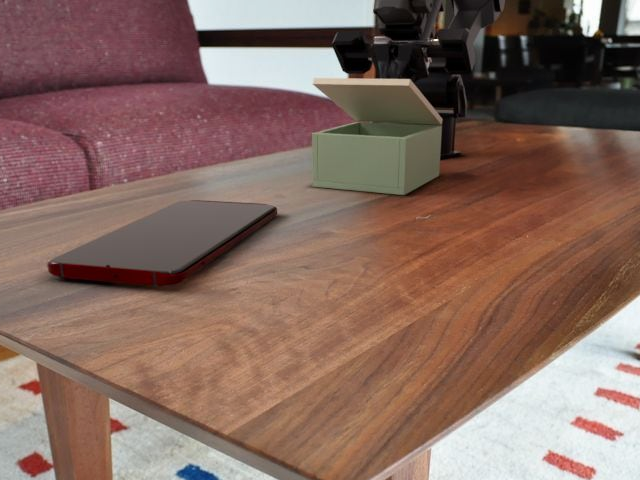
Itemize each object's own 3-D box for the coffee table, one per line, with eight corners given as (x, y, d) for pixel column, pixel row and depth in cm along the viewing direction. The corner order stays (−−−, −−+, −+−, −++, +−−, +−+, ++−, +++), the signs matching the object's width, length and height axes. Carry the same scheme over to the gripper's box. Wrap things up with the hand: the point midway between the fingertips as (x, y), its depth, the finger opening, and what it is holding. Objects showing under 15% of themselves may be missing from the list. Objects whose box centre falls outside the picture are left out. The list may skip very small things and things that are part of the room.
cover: (409, 85, 77) (410, 78, 77) (312, 84, 83) (313, 77, 83) (441, 124, 90) (442, 119, 90) (356, 121, 95) (357, 115, 95)
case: (404, 195, 81) (406, 138, 79) (312, 186, 87) (311, 133, 84) (439, 176, 92) (442, 125, 90) (356, 169, 98) (356, 121, 96)
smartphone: (282, 203, 73) (177, 272, 50) (282, 217, 73) (178, 292, 51) (179, 197, 76) (38, 261, 53) (180, 211, 76) (40, 279, 54)
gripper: (337, -34, 90) (299, 56, 85) (476, -44, 81) (442, 55, 76) (360, 30, 99) (327, 114, 94) (487, 27, 91) (458, 119, 86)
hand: (384, 101), depth 87 cm, fingers closed
